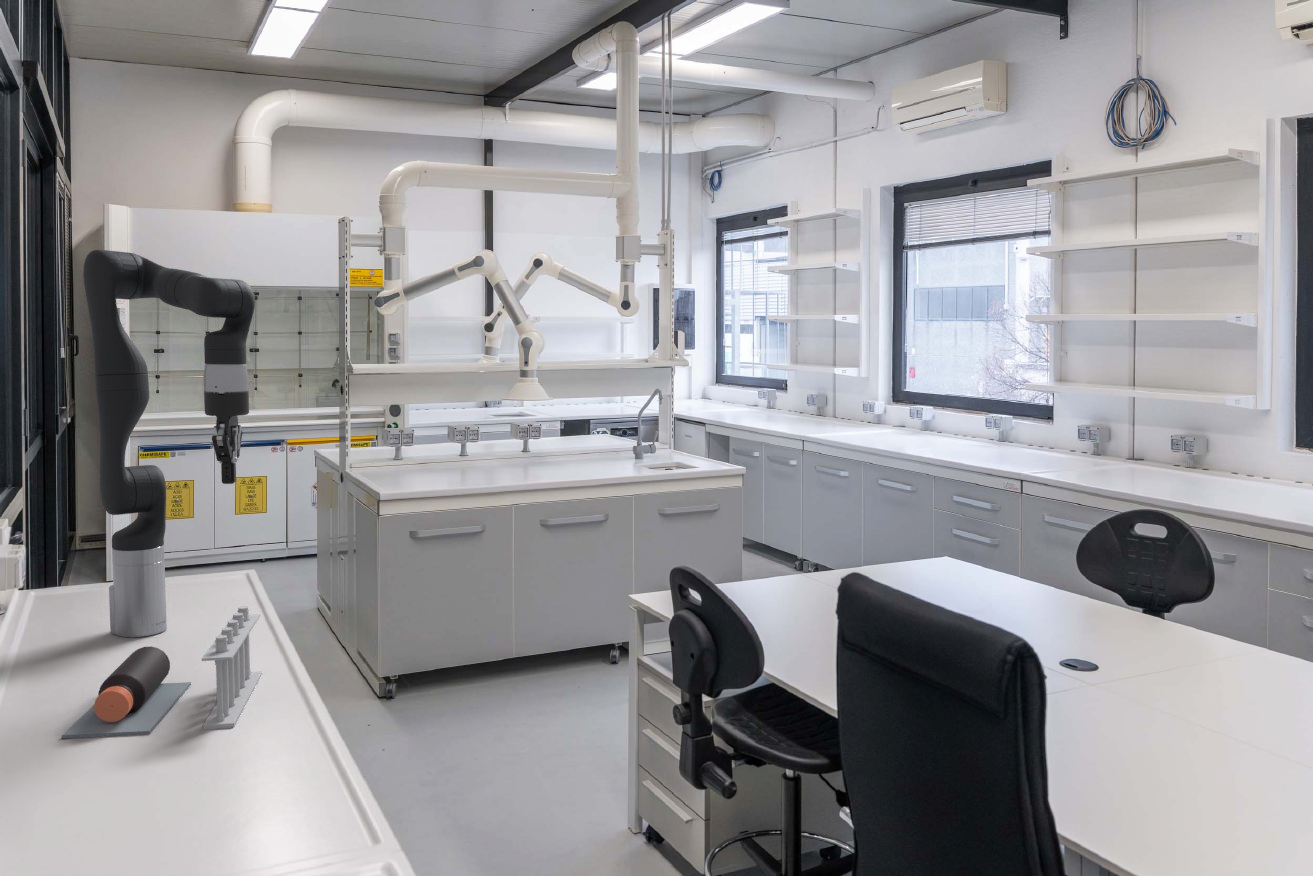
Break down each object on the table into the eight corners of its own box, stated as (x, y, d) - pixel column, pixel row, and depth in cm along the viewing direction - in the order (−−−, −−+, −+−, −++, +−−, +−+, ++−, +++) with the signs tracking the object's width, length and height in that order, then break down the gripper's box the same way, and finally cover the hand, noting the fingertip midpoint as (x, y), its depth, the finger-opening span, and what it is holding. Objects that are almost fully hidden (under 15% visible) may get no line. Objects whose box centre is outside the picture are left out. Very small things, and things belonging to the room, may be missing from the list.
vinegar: (123, 650, 170) (82, 690, 151) (166, 642, 172) (130, 680, 152) (132, 688, 171) (91, 733, 152) (174, 680, 173) (140, 723, 153)
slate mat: (114, 688, 170) (114, 685, 170) (190, 685, 172) (190, 682, 172) (61, 738, 148) (61, 735, 148) (149, 734, 150) (149, 730, 150)
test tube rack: (234, 728, 153) (231, 642, 152) (202, 730, 152) (200, 644, 151) (262, 675, 178) (260, 601, 176) (235, 677, 177) (233, 602, 175)
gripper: (213, 387, 191) (216, 478, 193) (194, 390, 178) (197, 488, 180) (255, 387, 192) (258, 478, 194) (239, 390, 179) (242, 488, 181)
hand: (228, 483), depth 187 cm, fingers closed
